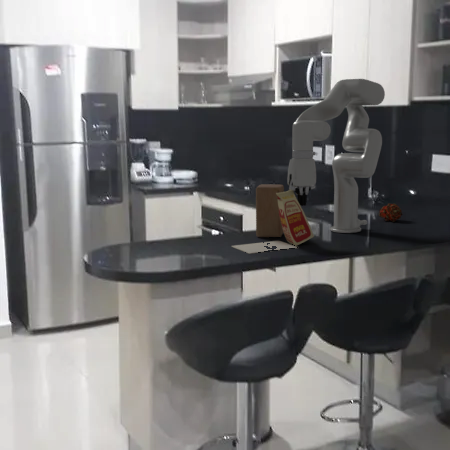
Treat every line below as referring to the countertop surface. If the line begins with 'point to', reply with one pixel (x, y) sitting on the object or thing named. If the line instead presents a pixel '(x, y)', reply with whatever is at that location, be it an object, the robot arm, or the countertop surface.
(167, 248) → the countertop surface
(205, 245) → the countertop surface
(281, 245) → the mat
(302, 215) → the milk carton
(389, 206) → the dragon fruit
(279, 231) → the wooden block
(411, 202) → the countertop surface
